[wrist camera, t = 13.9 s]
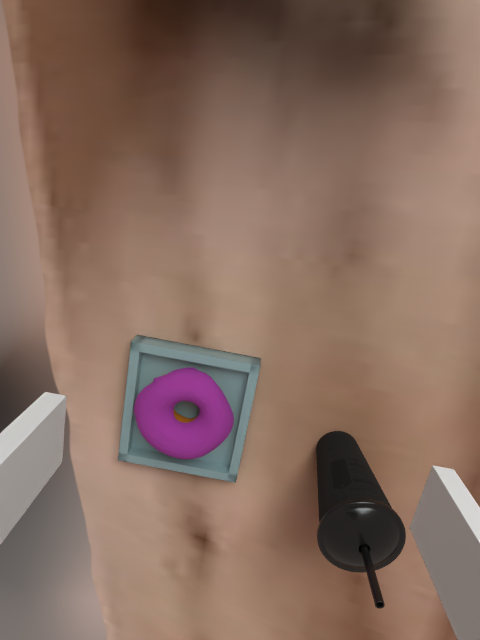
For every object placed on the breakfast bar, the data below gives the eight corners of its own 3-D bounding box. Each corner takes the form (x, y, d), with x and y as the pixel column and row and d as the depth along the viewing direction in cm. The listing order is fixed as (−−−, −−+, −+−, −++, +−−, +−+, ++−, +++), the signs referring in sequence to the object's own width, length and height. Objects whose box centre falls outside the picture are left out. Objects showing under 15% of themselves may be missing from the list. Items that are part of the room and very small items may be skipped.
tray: (137, 334, 48) (131, 341, 46) (260, 358, 48) (260, 366, 46) (123, 449, 53) (117, 460, 50) (236, 470, 53) (235, 482, 50)
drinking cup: (293, 462, 52) (310, 622, 33) (321, 410, 50) (357, 549, 30) (350, 485, 52) (400, 656, 33) (381, 435, 50) (453, 587, 31)
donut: (247, 422, 50) (245, 444, 46) (173, 456, 52) (164, 480, 47) (202, 348, 48) (196, 364, 43) (126, 386, 49) (113, 405, 45)
